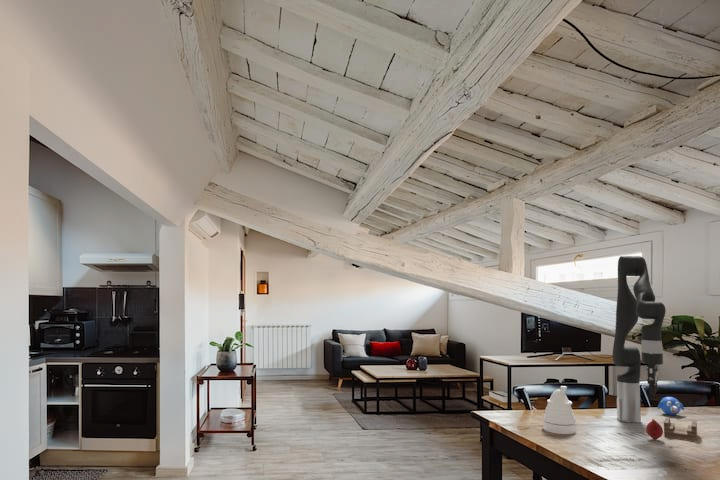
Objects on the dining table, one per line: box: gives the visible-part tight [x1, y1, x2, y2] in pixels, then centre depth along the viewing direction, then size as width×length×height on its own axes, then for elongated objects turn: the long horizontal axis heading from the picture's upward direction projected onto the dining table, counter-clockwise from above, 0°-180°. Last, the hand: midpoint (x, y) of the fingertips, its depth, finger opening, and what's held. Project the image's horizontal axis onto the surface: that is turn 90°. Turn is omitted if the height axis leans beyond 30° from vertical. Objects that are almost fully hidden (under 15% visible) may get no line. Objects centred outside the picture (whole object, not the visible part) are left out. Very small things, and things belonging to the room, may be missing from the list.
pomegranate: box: [645, 418, 664, 441], centre depth 209 cm, size 6×6×8 cm
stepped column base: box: [663, 416, 698, 442], centre depth 216 cm, size 12×11×6 cm
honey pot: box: [542, 385, 577, 435], centre depth 222 cm, size 13×13×18 cm
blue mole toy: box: [657, 396, 685, 416], centre depth 253 cm, size 12×12×8 cm
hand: (653, 393), depth 210 cm, fingers open, 8 cm apart
